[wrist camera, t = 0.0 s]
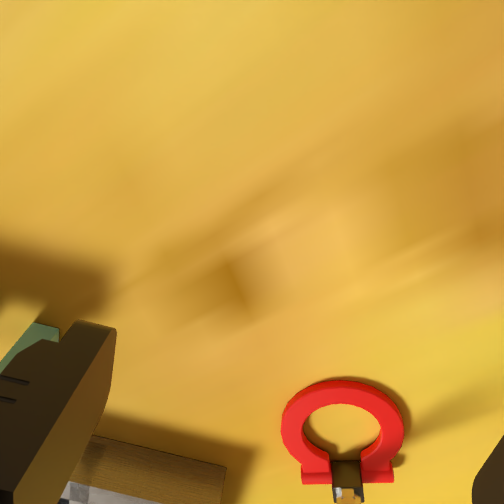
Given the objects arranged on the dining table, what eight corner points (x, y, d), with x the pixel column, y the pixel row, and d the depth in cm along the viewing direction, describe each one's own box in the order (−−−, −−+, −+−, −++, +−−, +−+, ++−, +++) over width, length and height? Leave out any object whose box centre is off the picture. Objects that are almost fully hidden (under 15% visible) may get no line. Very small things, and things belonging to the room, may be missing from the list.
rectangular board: (-19, 470, 41) (-49, 515, 37) (-25, 406, 37) (-60, 450, 33) (208, 525, 41) (199, 574, 38) (226, 467, 37) (217, 517, 34)
